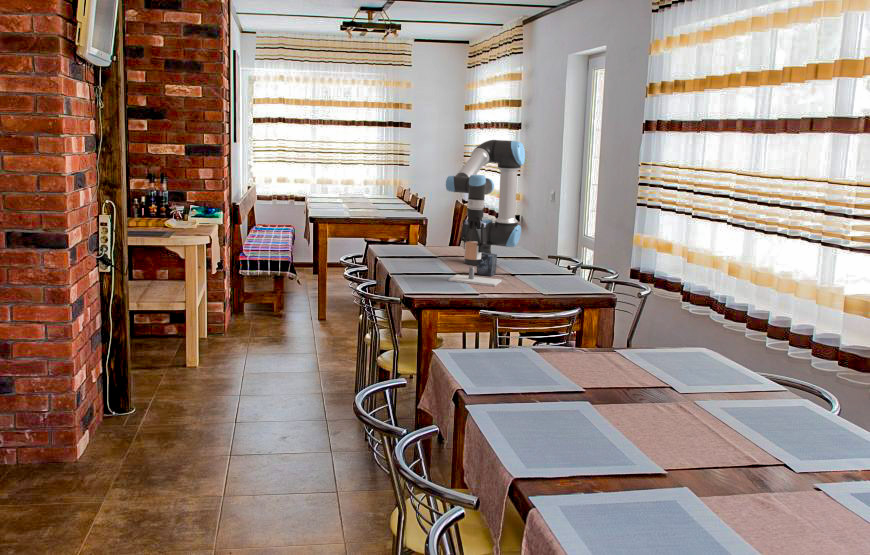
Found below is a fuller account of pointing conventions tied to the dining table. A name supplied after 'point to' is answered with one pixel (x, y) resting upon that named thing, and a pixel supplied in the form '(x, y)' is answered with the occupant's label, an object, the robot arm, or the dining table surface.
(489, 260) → the box
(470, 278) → the white board with peg
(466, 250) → the peach block
